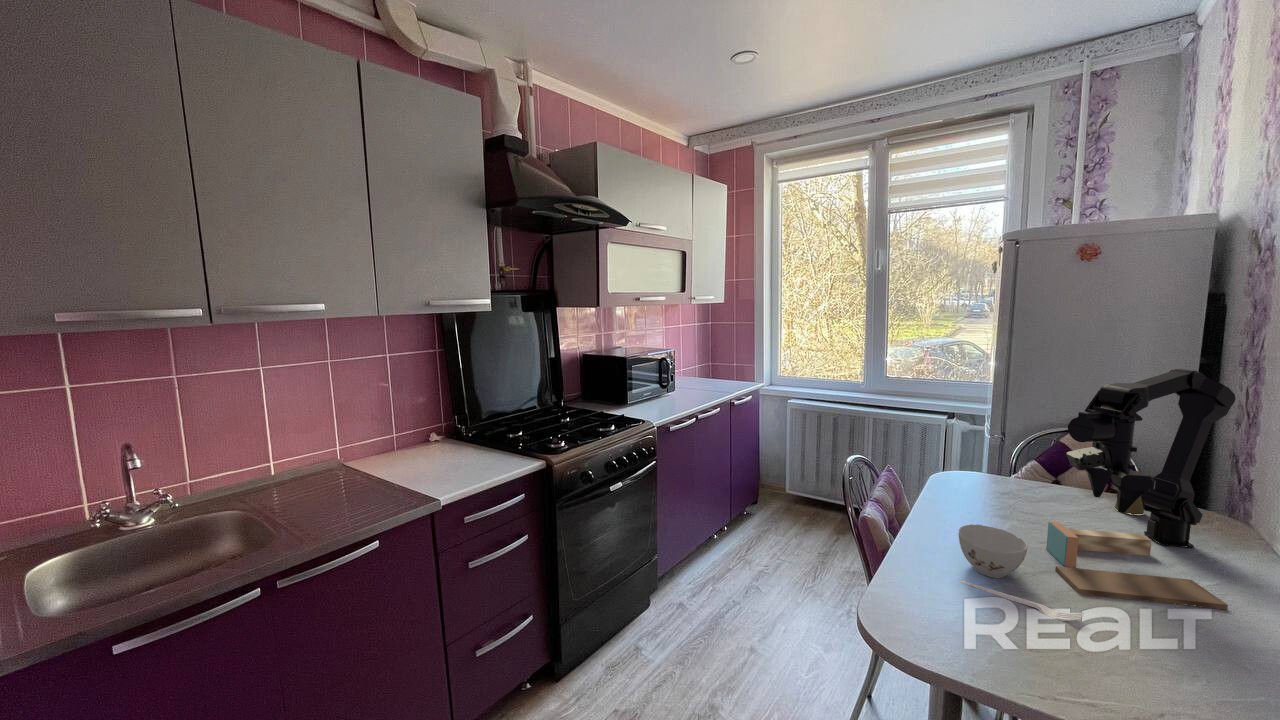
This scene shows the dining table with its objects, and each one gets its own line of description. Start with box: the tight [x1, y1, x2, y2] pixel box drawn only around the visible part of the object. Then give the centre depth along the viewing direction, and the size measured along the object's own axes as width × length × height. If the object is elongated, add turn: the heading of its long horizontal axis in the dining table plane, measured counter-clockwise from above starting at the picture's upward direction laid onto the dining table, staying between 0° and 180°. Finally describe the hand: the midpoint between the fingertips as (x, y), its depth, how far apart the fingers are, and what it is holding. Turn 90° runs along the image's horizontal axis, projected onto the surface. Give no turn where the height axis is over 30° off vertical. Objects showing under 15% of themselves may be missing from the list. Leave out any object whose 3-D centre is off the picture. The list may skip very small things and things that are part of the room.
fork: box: [959, 580, 1085, 622], centre depth 102 cm, size 3×20×2 cm, turn 43°
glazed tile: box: [1045, 521, 1079, 568], centre depth 117 cm, size 2×8×7 cm, turn 165°
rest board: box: [1054, 566, 1229, 611], centre depth 105 cm, size 24×9×1 cm, turn 75°
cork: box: [1114, 496, 1145, 514], centre depth 141 cm, size 6×6×11 cm
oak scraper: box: [1067, 528, 1153, 556], centre depth 121 cm, size 16×3×4 cm, turn 76°
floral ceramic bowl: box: [958, 524, 1028, 579], centre depth 113 cm, size 15×12×8 cm
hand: (1108, 504), depth 120 cm, fingers open, 9 cm apart
